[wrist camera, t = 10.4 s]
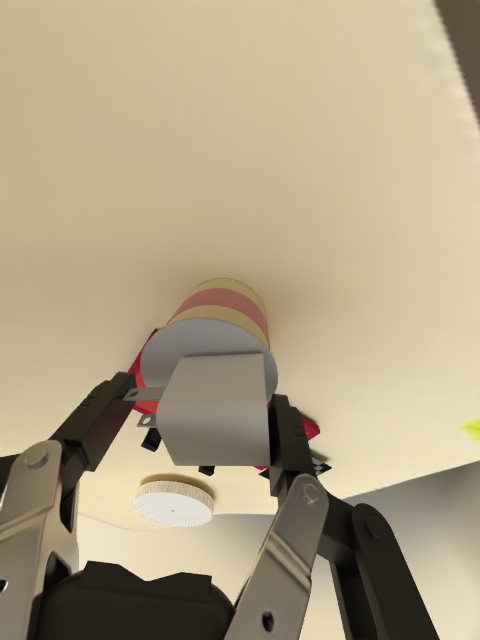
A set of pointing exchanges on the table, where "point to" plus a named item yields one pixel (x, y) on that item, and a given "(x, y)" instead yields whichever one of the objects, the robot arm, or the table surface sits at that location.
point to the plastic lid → (173, 503)
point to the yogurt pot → (211, 332)
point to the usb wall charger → (212, 411)
